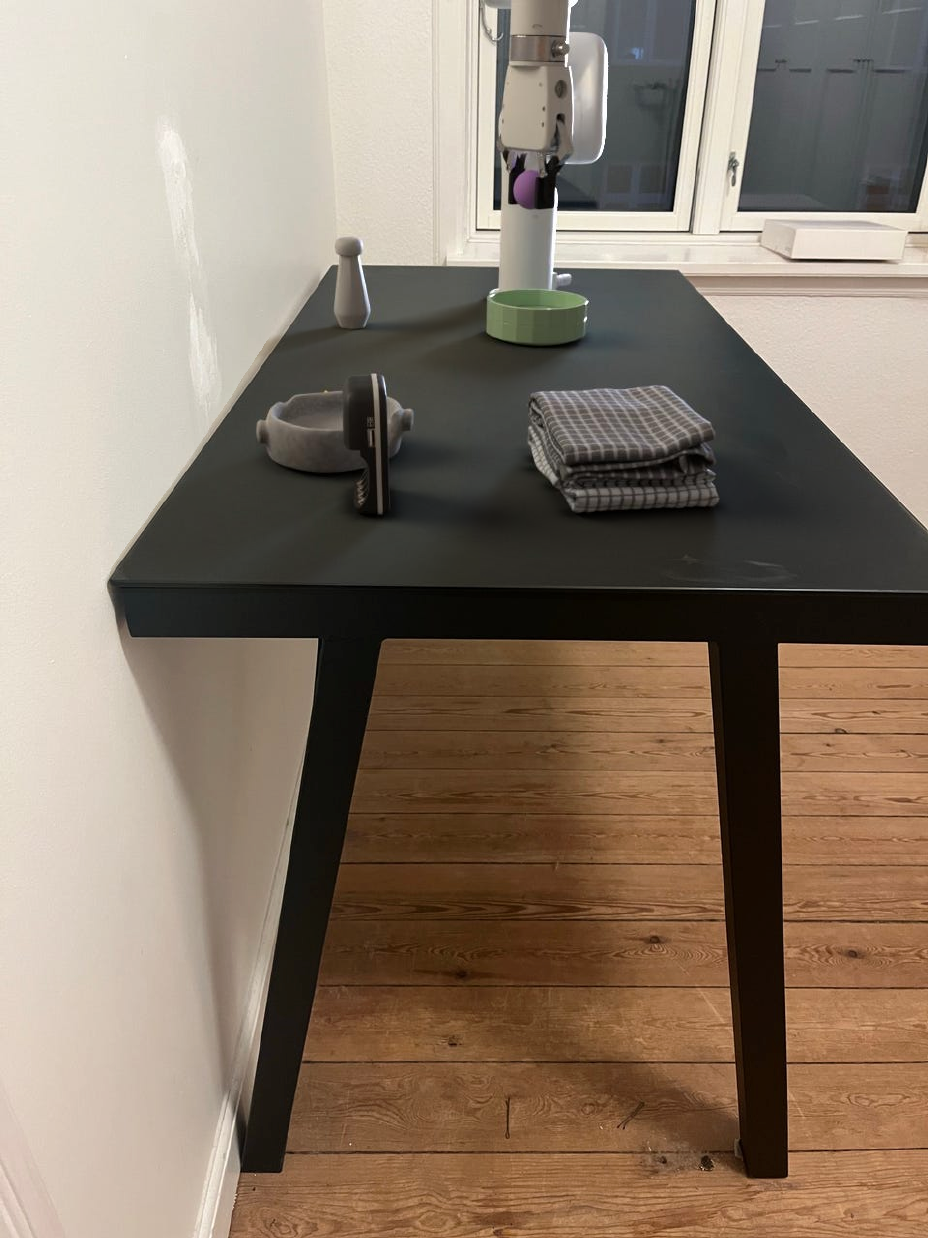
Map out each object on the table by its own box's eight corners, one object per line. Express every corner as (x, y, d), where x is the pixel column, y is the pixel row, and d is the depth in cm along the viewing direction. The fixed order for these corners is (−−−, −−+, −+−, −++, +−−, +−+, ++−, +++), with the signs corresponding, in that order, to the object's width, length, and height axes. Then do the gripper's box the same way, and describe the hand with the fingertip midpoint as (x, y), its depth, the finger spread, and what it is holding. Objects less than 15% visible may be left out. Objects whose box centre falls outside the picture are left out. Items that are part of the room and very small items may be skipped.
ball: (532, 205, 131) (534, 167, 128) (555, 210, 128) (558, 170, 125) (505, 208, 128) (506, 168, 126) (528, 212, 125) (530, 172, 122)
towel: (656, 444, 99) (665, 372, 95) (721, 512, 84) (735, 429, 80) (519, 449, 97) (523, 376, 93) (560, 520, 82) (566, 435, 78)
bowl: (539, 320, 150) (541, 285, 148) (605, 338, 140) (608, 301, 137) (466, 332, 142) (466, 295, 140) (530, 352, 132) (532, 313, 129)
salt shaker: (374, 322, 147) (371, 235, 140) (367, 330, 142) (364, 241, 136) (338, 320, 148) (334, 234, 141) (330, 329, 143) (325, 239, 136)
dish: (425, 444, 98) (424, 398, 96) (359, 488, 87) (356, 437, 85) (311, 423, 103) (308, 380, 101) (235, 463, 92) (229, 414, 90)
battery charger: (346, 488, 87) (340, 369, 81) (386, 487, 88) (382, 368, 82) (347, 519, 81) (340, 392, 75) (390, 517, 82) (386, 391, 76)
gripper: (605, 54, 115) (592, 211, 124) (518, 53, 126) (512, 197, 135) (561, 52, 111) (551, 215, 120) (475, 52, 122) (472, 200, 132)
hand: (530, 204), depth 128 cm, fingers closed on ball, 4 cm apart
